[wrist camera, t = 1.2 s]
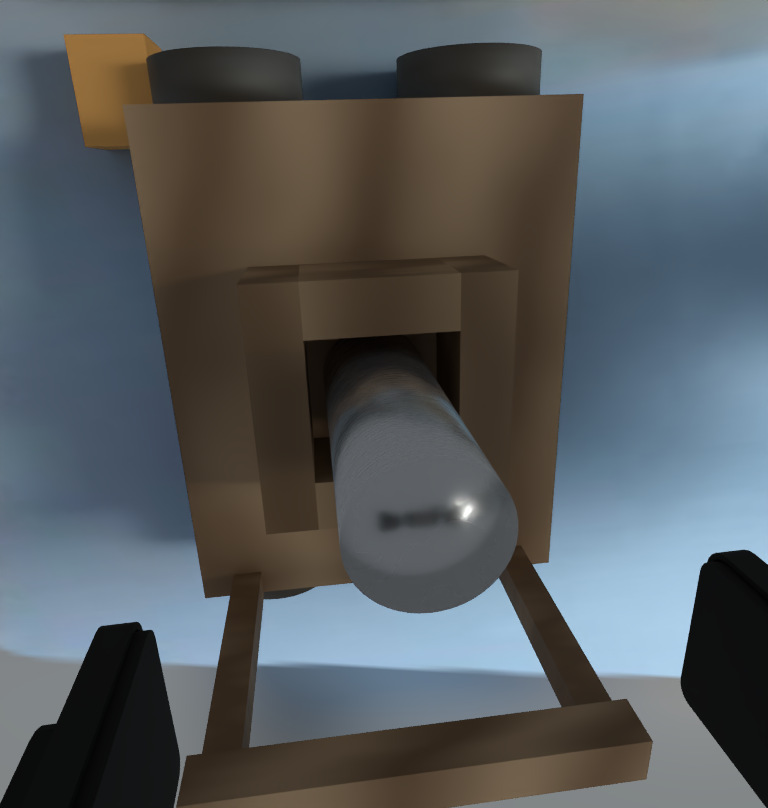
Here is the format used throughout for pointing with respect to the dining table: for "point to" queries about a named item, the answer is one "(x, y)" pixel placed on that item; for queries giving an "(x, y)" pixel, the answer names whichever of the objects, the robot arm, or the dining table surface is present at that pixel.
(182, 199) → the trolley
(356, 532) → the pin
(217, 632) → the dining table surface
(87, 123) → the orange block
